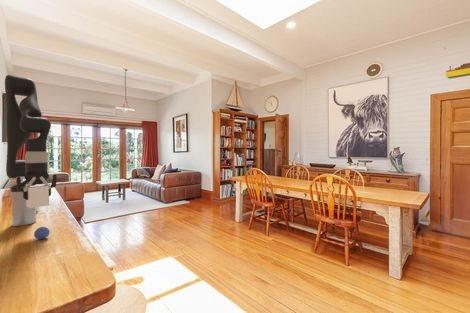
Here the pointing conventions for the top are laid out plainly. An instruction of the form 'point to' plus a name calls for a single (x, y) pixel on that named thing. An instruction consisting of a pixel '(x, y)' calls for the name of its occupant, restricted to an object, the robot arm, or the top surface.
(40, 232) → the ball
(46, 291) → the top surface
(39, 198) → the white block
